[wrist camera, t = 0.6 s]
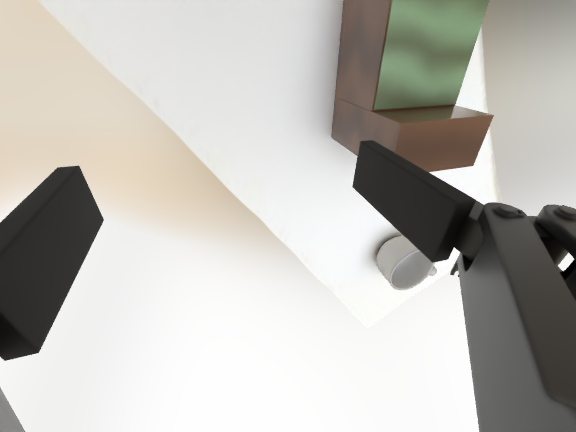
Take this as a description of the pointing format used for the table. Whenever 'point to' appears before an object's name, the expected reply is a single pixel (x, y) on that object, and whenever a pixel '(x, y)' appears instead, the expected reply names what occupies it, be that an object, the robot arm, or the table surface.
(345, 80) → the shelf riser
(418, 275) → the teacup
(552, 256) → the robot arm
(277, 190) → the table surface
